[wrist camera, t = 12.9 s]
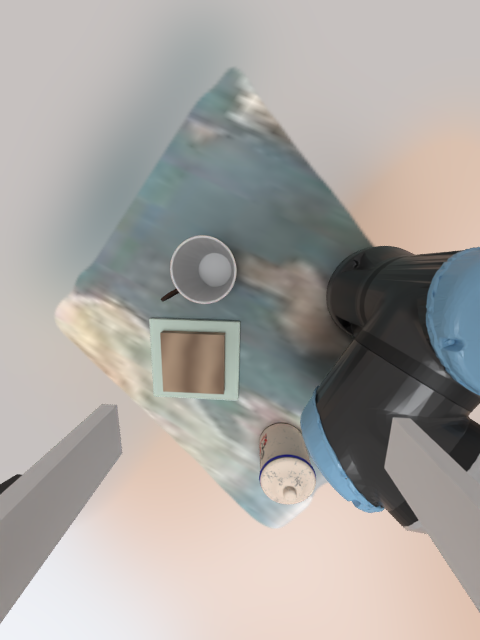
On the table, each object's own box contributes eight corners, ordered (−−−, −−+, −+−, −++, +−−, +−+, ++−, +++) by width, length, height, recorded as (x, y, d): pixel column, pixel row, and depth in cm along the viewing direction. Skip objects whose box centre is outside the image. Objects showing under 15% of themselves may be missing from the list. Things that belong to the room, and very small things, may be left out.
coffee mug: (237, 240, 39) (232, 231, 29) (243, 292, 40) (240, 300, 31) (169, 249, 40) (141, 242, 30) (177, 299, 41) (154, 309, 32)
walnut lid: (225, 332, 41) (224, 335, 40) (224, 389, 43) (223, 394, 42) (163, 330, 42) (160, 332, 40) (166, 387, 44) (163, 391, 42)
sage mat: (240, 321, 42) (240, 322, 41) (238, 397, 45) (237, 400, 44) (151, 317, 42) (149, 319, 41) (155, 393, 45) (153, 396, 44)
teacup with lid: (255, 423, 46) (255, 475, 34) (302, 418, 45) (318, 469, 34) (263, 474, 48) (266, 538, 37) (308, 471, 47) (325, 534, 36)
